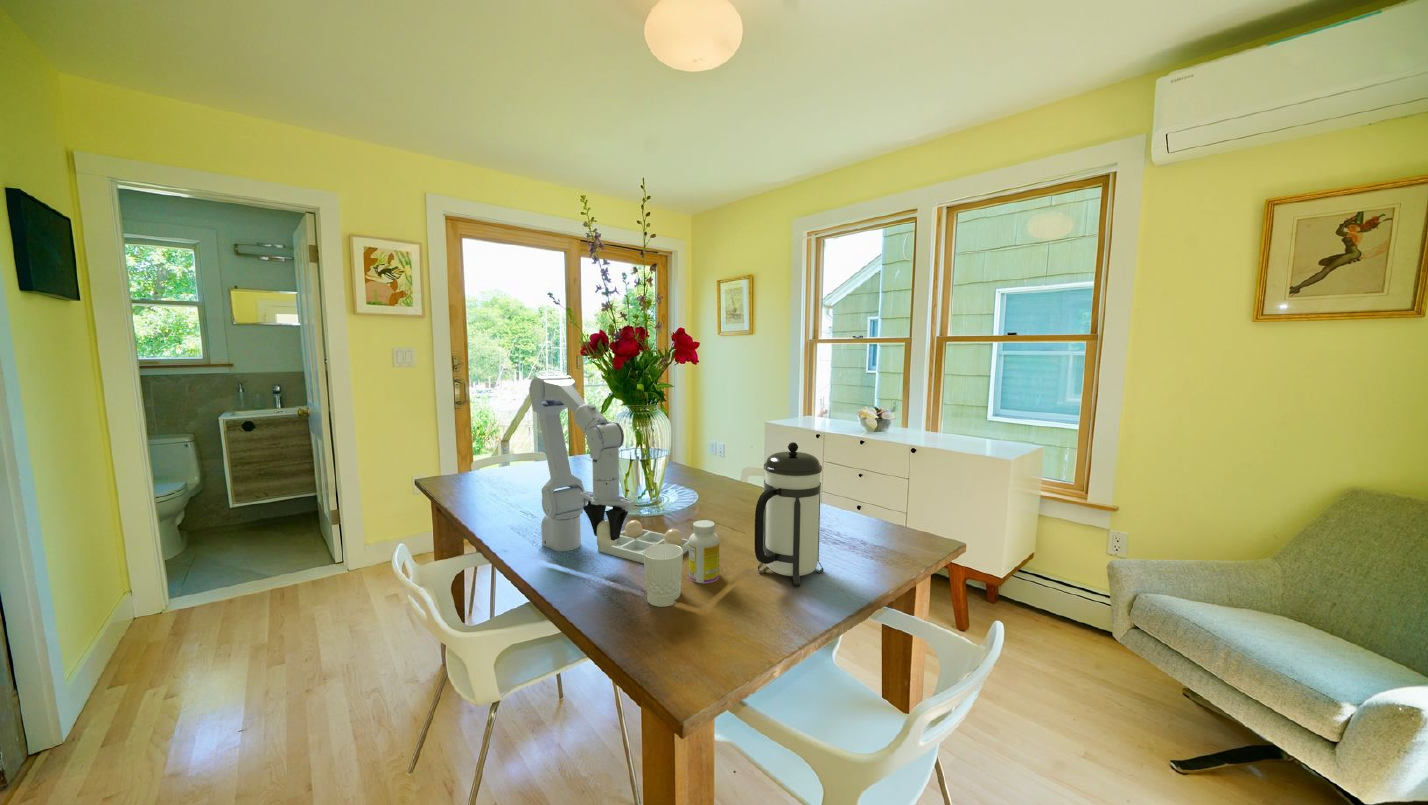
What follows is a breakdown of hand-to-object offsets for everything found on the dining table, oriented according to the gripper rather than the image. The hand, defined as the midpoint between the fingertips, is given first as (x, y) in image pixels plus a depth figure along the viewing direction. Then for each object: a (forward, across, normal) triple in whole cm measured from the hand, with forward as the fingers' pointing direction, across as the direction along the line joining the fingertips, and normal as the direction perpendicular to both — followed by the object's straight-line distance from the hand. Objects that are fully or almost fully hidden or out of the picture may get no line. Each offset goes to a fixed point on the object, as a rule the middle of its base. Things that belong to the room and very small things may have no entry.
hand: (607, 536), depth 109 cm
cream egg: (+1, 0, 0) cm, 1 cm away
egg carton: (+8, +1, +13) cm, 15 cm away
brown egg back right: (+7, +7, +16) cm, 19 cm away
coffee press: (+9, +36, +20) cm, 42 cm away
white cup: (+9, +18, -3) cm, 20 cm away
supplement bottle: (+9, +21, +8) cm, 24 cm away
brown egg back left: (+7, -6, +16) cm, 18 cm away
